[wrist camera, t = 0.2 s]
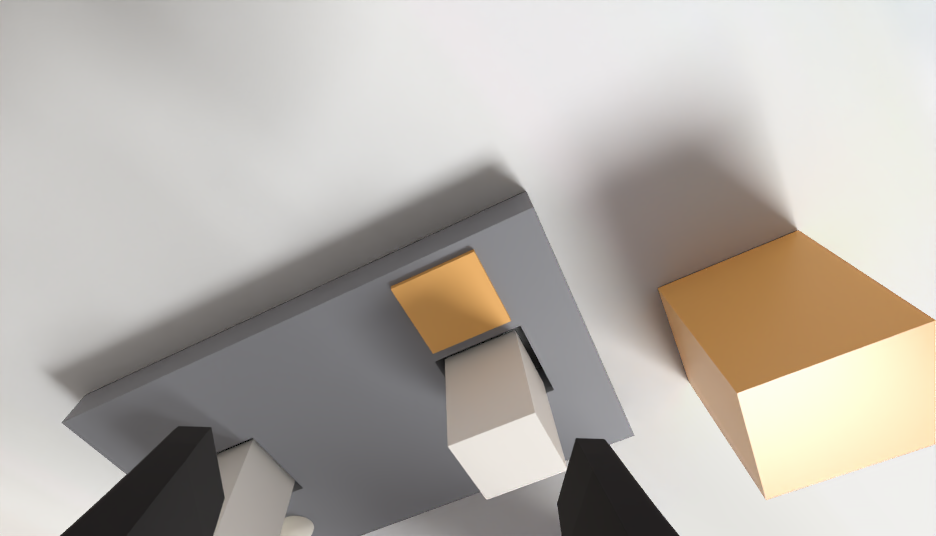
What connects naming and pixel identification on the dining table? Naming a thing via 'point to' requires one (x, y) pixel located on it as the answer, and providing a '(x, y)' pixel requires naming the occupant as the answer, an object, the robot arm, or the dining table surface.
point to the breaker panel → (370, 375)
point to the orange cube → (805, 362)
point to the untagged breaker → (252, 492)
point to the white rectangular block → (500, 417)
